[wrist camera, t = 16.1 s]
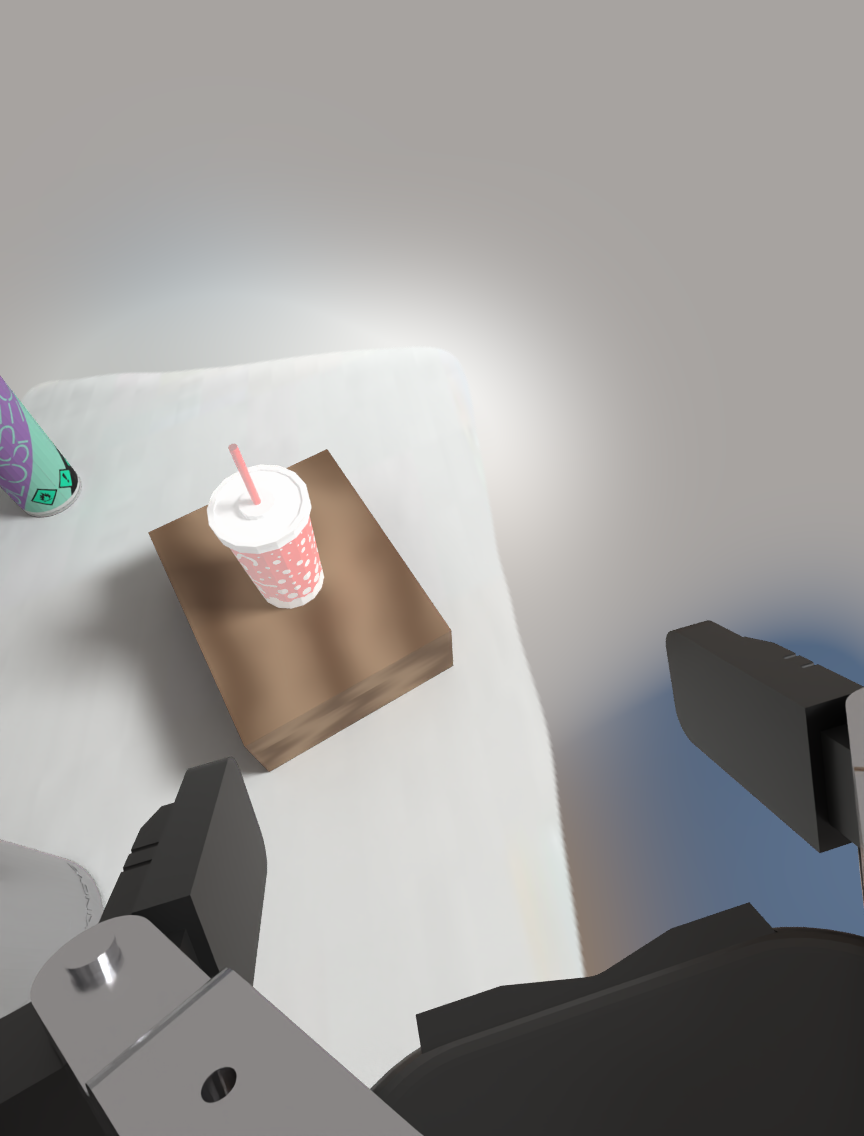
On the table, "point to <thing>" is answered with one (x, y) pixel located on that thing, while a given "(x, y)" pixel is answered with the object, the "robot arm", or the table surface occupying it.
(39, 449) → the spray can
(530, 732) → the table surface
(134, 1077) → the robot arm
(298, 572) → the beverage cup
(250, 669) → the walnut shelf stand
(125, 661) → the table surface
